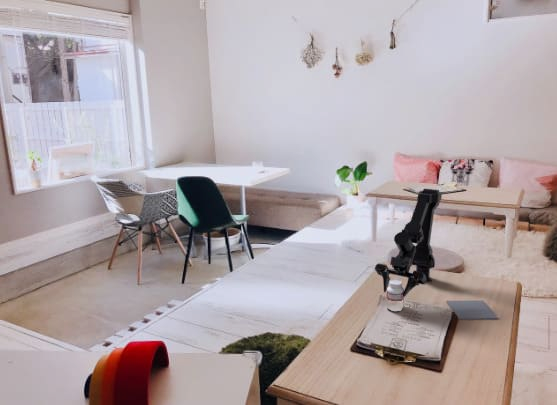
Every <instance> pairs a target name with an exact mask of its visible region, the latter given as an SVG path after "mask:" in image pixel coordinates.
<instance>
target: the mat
mask: <svg viewBox="0 0 557 405" xmlns="http://www.w3.org/2000/svg"><path fill="white" fill-rule="evenodd" d="M446 304H447V305H448V307H449V308H450V310H453V311H454V312H455V313H454V312H453V311H452V312H453V313H454V315H455V314H456V315H457V316H456V315H455V316H456V318H457V317H458V318H457V319H458V320H459V321H460V320H465V321H466V320H469V321H470V320H471V321H473V320H499V316H498V315H497V314H496V313H495V312H494V310H492V309H491V307H490V306H489V304H487V303H486V301H484V300H483V299H481V300H480V299H479V300H477V299H476V300H475V299H474V300H466V299H465V300H446Z"/></svg>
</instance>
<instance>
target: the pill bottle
mask: <svg viewBox="0 0 557 405" xmlns="http://www.w3.org/2000/svg"><path fill="white" fill-rule="evenodd" d="M404 290H405V288H404V287H403V281H401V280H400V279H390V281H389V284H388V287H387V290H386V300H387V299H388V300H391V301H402V300H403V301H404V298H405V297H403V293H404Z"/></svg>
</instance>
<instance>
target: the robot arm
mask: <svg viewBox="0 0 557 405" xmlns="http://www.w3.org/2000/svg"><path fill="white" fill-rule="evenodd" d="M442 197H443V196H442V192H440V189H433V188H423V190H420V191H418V194H417V199H416V200H417V201H416V204H415V207H414V210H413V213H412V215H411V218H410V221H408V222H407V223H406V224H405V226H404V228H403V229H401V231H400V232H397V234H395V235H394V237H393V240H394V243H395V246H396V247H397V249H398V251H399V252H398V254H397V255H396V256H391V258H390V263H389V265H390V266H391V267H392V268H389V267H388V265H387V264H385V263H384V264H383V263H380V262H379V263H377V264H375V266H374V270H375V272H376V273H377V275H379V276H381V277H382V279H383V281H382V282H383V292H384V293H387V288H388V287H389V281H390V280H391V277H390V276H389V275H394V276H399V277H404V278H407V282H406V286H405V288H404V293H403V297H404V298H405V297H406V296H407V295H408V294H409V293H410V291H412V290H413V289H414V288H415V287H416V286H419V285H426V283H427V282H432V281H433V279H432V278H431V276H430V274H431V273H430V272H431V269H432V268H435V267H436V260H435V256H434V255H433V252H434V251H433V248H432V246H431V244H430V243H431V237H432V230H433V229H432V228H433V222H434V217H435V216H434V215H435V210H436V209H437V208H438V207H439V205H440V203H441V200H442ZM412 266H415V270H413V271H412V272H410V270H411V267H412Z"/></svg>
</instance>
